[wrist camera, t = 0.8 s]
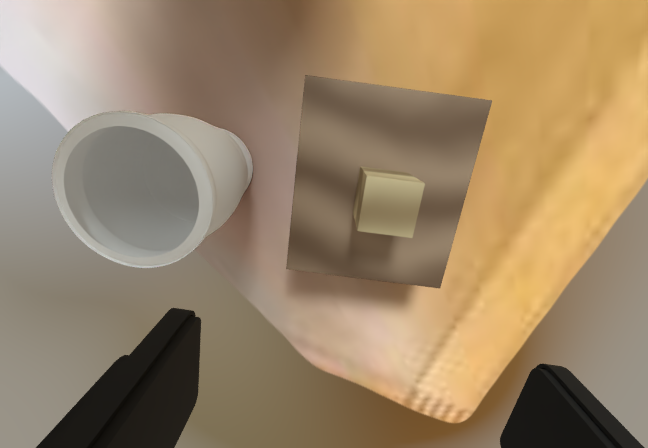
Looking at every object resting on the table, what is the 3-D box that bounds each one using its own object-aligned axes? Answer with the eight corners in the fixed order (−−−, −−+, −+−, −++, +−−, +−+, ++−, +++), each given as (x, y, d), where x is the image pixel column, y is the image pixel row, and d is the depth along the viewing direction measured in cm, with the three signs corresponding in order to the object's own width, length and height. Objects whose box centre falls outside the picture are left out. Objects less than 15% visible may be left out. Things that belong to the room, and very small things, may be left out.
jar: (210, 227, 36) (131, 295, 22) (149, 154, 34) (14, 175, 19) (281, 178, 34) (245, 216, 20) (222, 95, 32) (132, 71, 17)
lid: (307, 79, 25) (298, 62, 19) (479, 102, 26) (532, 94, 19) (289, 259, 31) (277, 297, 24) (432, 277, 31) (461, 320, 24)
